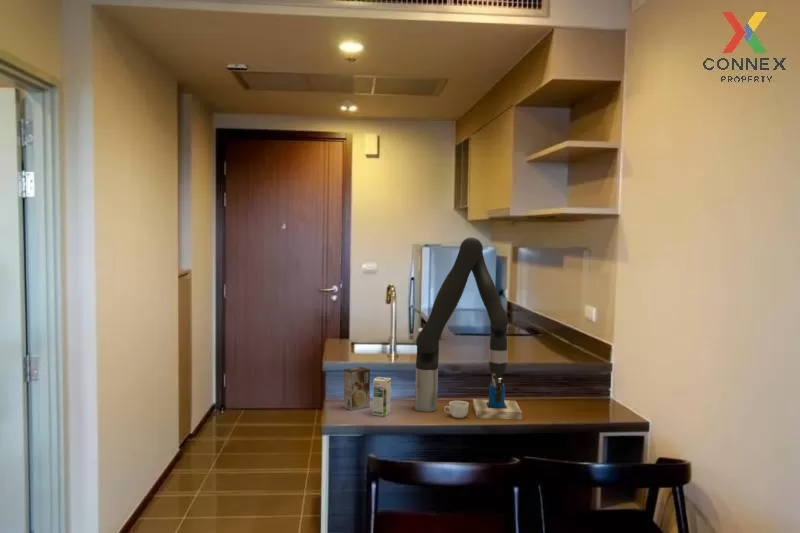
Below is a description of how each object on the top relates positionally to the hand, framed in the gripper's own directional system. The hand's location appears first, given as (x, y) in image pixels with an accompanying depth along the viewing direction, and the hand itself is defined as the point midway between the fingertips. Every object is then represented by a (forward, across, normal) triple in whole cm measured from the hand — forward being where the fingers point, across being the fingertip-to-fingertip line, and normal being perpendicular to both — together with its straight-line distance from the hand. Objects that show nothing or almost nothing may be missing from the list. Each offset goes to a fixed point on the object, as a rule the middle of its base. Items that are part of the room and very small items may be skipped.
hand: (496, 399), depth 239 cm
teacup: (+6, +7, -17) cm, 19 cm away
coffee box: (+6, -1, -58) cm, 58 cm away
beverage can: (+6, 0, 0) cm, 6 cm away
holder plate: (+6, 0, 0) cm, 6 cm away
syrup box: (+6, +7, -47) cm, 48 cm away
